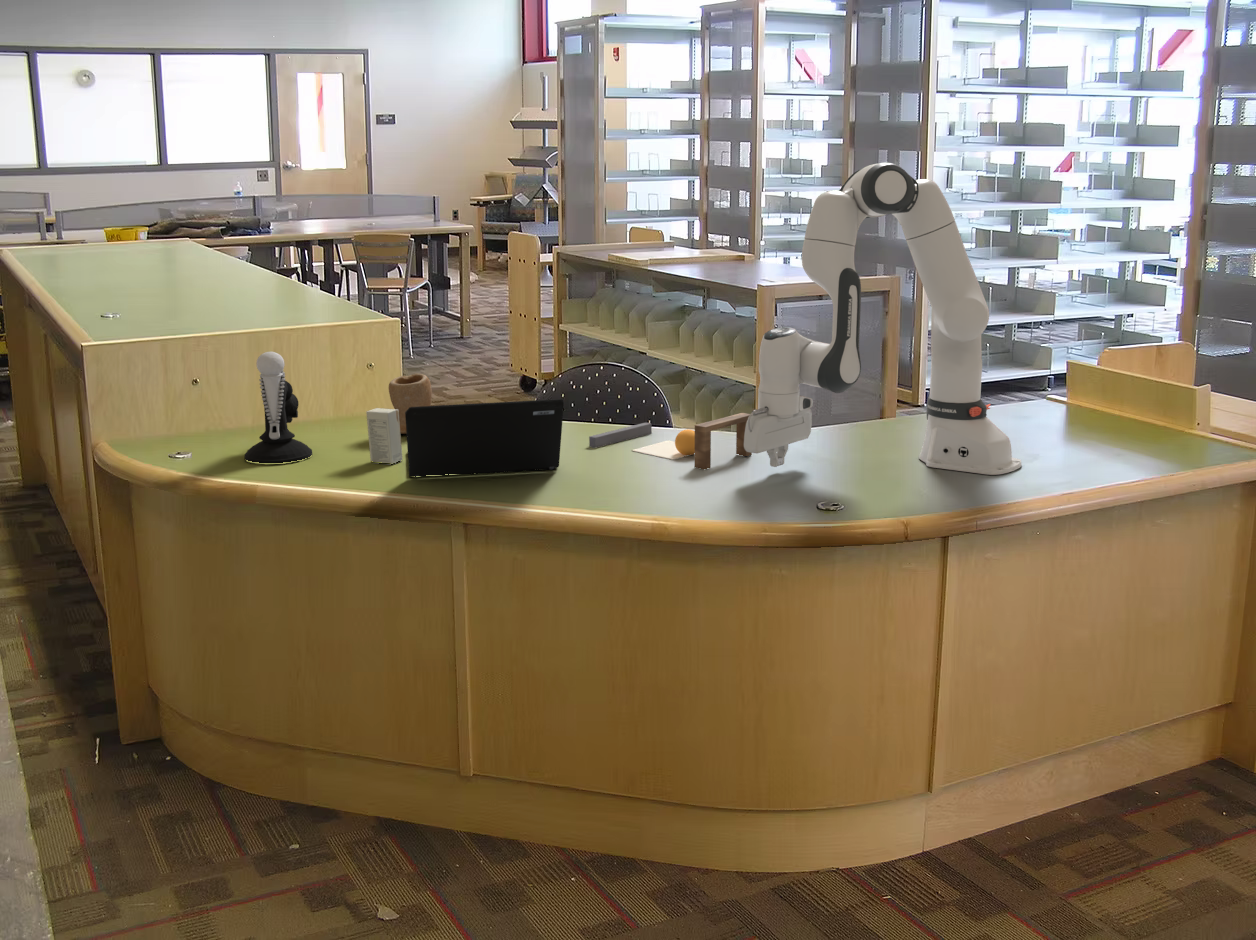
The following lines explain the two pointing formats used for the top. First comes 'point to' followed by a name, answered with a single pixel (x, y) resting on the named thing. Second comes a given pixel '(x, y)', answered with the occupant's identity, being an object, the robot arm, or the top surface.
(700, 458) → the bridge
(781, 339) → the robot arm
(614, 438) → the wall
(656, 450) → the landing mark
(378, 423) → the skincare box
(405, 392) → the stone cup
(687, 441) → the ball
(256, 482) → the top surface
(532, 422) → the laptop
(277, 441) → the sculpture
